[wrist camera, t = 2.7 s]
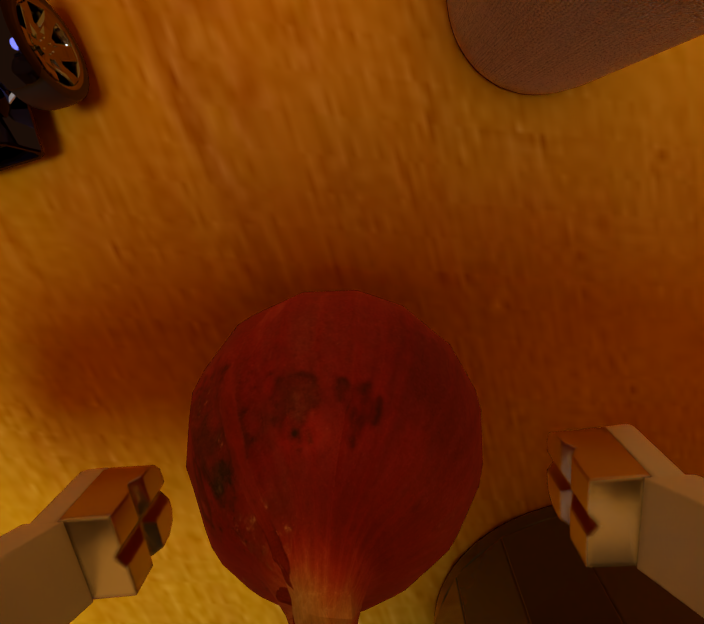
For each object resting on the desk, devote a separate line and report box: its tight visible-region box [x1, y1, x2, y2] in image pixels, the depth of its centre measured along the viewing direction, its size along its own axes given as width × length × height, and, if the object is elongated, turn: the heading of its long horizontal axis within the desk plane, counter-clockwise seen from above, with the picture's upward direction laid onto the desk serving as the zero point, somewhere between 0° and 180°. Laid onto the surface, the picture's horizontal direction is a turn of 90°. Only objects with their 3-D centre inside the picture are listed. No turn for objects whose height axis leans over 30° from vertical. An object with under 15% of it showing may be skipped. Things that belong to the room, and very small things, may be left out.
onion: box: [186, 290, 483, 624], centre depth 9 cm, size 6×6×8 cm
